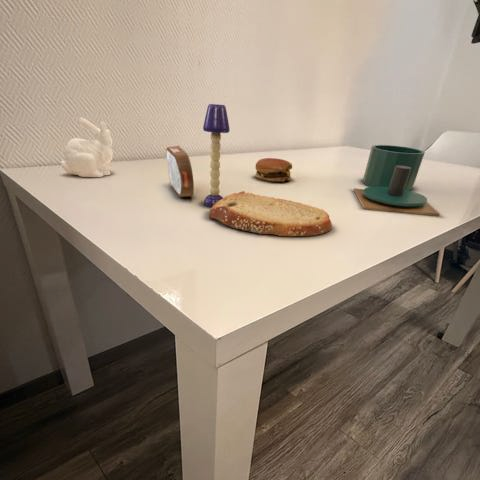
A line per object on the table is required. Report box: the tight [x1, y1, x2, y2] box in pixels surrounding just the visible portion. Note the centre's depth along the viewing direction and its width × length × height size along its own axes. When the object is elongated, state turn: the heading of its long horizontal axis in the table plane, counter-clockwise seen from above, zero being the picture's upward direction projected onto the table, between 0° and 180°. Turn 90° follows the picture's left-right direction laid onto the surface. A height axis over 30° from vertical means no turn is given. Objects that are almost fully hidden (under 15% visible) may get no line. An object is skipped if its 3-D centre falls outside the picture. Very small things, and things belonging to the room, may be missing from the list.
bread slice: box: [208, 190, 333, 237], centre depth 58 cm, size 18×18×4 cm
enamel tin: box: [362, 144, 426, 191], centre depth 85 cm, size 12×12×8 cm
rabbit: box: [60, 116, 114, 178], centre depth 75 cm, size 12×9×12 cm
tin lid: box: [363, 165, 428, 207], centre depth 72 cm, size 13×13×7 cm
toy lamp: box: [202, 103, 231, 208], centre depth 61 cm, size 5×5×17 cm
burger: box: [255, 157, 293, 183], centre depth 85 cm, size 10×9×5 cm
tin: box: [165, 145, 195, 198], centre depth 69 cm, size 15×3×8 cm, turn 20°
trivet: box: [353, 187, 440, 217], centre depth 74 cm, size 15×15×1 cm
